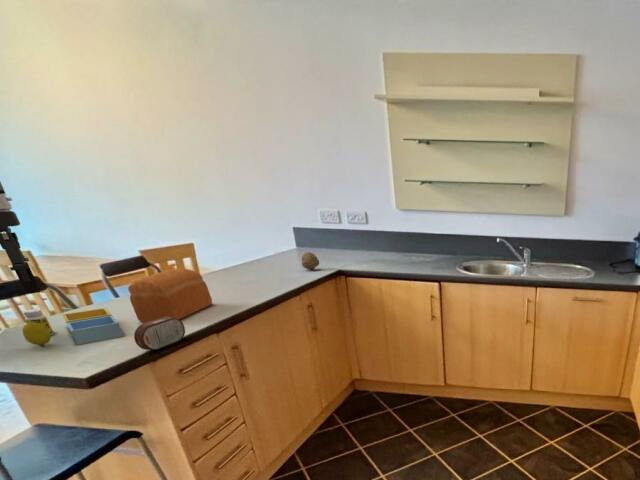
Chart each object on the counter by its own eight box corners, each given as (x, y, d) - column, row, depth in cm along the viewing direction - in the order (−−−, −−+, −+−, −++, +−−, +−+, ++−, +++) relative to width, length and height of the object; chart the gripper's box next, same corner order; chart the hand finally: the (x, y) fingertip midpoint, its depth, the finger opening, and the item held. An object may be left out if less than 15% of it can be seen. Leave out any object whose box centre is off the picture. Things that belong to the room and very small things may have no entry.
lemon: (52, 347, 129) (39, 322, 125) (27, 350, 126) (13, 325, 123) (58, 342, 133) (46, 318, 129) (34, 344, 130) (21, 320, 127)
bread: (216, 303, 174) (205, 265, 167) (174, 323, 151) (158, 280, 144) (183, 303, 174) (169, 265, 166) (134, 323, 150) (117, 279, 143)
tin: (182, 337, 139) (173, 312, 135) (190, 337, 138) (182, 313, 134) (139, 354, 125) (128, 327, 122) (148, 354, 125) (137, 328, 121)
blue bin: (73, 336, 138) (66, 322, 136) (117, 328, 145) (112, 315, 143) (77, 344, 131) (70, 330, 129) (124, 335, 139) (118, 322, 137)
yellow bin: (68, 326, 146) (62, 314, 144) (110, 319, 153) (105, 307, 151) (72, 334, 139) (65, 321, 137) (116, 326, 147) (111, 314, 145)
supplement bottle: (37, 338, 135) (24, 313, 132) (31, 336, 137) (18, 311, 133) (57, 334, 139) (44, 309, 135) (50, 331, 141) (38, 307, 137)
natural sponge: (323, 269, 242) (320, 251, 238) (315, 272, 234) (312, 253, 230) (308, 268, 243) (305, 250, 238) (300, 271, 235) (296, 253, 230)
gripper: (14, 213, 108) (53, 294, 117) (13, 207, 123) (47, 279, 132) (-30, 214, 103) (14, 298, 112) (-26, 208, 118) (12, 283, 127)
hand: (32, 288), depth 122 cm, fingers open, 13 cm apart
